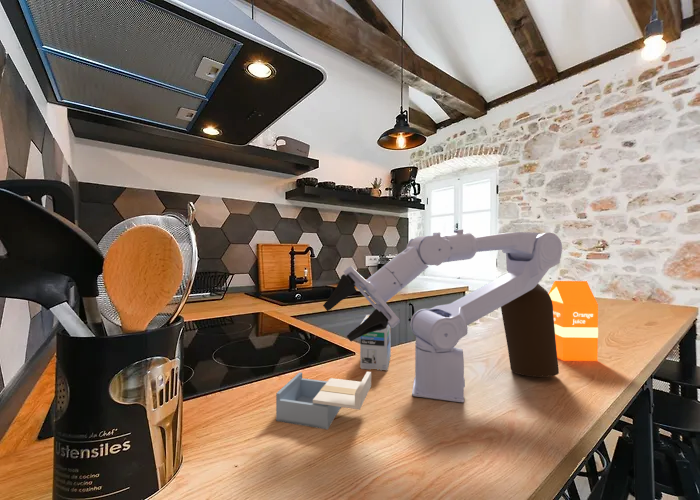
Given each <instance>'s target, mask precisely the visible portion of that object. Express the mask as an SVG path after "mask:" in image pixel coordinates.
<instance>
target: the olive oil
mask: <svg viewBox="0 0 700 500" xmlns="http://www.w3.org/2000/svg"><path fill="white" fill-rule="evenodd" d="M500 311H501V316H502V321H503V327H504V334H505V339H506V346H507V352H508V359H509V364H510V370H511V372H513V373H515V374H517V375H522V376H528V377H537V378H538V377H541V378H542V377H545V378H546V377H554V376H558V375H559V374H560V373H559V371H560V370H559V358H557V349H556V338H555V327H554V314H553V304H552V300H551V297H550V295H549V292H548V291H547V290H546V289H545V288H544V287H542V286H541V285H540V284H539V283H538V284H537V285H536V287H535V288H533V289H532V290H530V291H528V292H527V293H525V294H523V295H521V296H519V297H518V298H516V299H514V300H512V301H511V302H509V303H507V304H505V305H503V306H502V307H500Z"/></svg>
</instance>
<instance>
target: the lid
mask: <svg viewBox="0 0 700 500" xmlns="http://www.w3.org/2000/svg"><path fill="white" fill-rule="evenodd" d="M327 381H328V382H327V383H326V384H325V385H324V386H323V387H322V388H321V390H320V391H319V393H318V394H317V395H316V396H315V398H314V399H313V403H317V404H324V405H331V406H338V407H341V408H343V409H344V408H346V409H351V410H352V409H353V410H358V411H359V410H361V408H362V406H363V404H364V401H365V400H366V398H367V396H368V394H369V392H370V389H371V387H372V371H366V372H365V374H364V376H363V378H362V379H361V381H358V380H357V381H356V380H351V379H349V380H348V379H342V378H333V377H330V378H329V379H328V380H327Z"/></svg>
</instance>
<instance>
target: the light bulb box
mask: <svg viewBox="0 0 700 500" xmlns="http://www.w3.org/2000/svg"><path fill="white" fill-rule="evenodd" d="M370 315H371V314H366V315H365V317H364V318H363V320H362V321H361V322H360V324H359V325H361V324H362V323H363V322H364V321H365V320H366V319H367V318H368V317H369V316H370ZM386 327H387V328H385V329H383V330H378V331H374V332H370V333H368V334H365V335H363V336H360V337H359V338H360V340H359V342H360V349H359V350H360V351H359V354H360V355H359V356H360V357H359V358H360V361H359V362H360V363H359V364H360V365H359V366H360V367H359V368H361V369H362V370H371V369H377V370H376V371H382V370H387V371H388V369H389V366H390V362H391V358H390V357H391V356H392V354H391V353H392V352H391V342H392V341H391V338H392V337H391V336H392V332H391V330H392V328H391V327H390V326H389V325H387V326H386ZM389 361H390V362H389ZM361 369H360V370H361ZM379 369H380V370H379Z"/></svg>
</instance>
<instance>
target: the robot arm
mask: <svg viewBox="0 0 700 500" xmlns="http://www.w3.org/2000/svg"><path fill="white" fill-rule="evenodd" d="M489 251H490V252H491V251H502V253H503V254H505V261H506V264H505V265H506V271H507V273H505V274H503V275H501V276H499V277H497V278H496V279H494V280H491V281H490V282H488V283H486V284H484V285H482V286H480V287H479V288H476V289H475V290H473V291H471V292H469V293H468V294H465V295H464V296H462V297H460V298H458V299H456V300H453V301H452V302H450V303H446V304H445V303H444V304H440V305H439V304H438V305H435V306H433V307H431V308H421V309H418V310H417V311H415V313H413V315H412V316H411V319H410V323H409V324H410V329H411V333H413V335H415V345H414V346H415V352H414V353H415V355H414V356H415V358H414V359H415V362H414V363H415V370H414V371H415V373H414V374H415V377H414V380H413V384H412V385H413V386H412V391H411V396H413V397H418V398H423V399H424V398H426V399H432V400H433V399H434V400H441V401H448V402H456V403H464V402H465V399H464V398H465V394H464V392H465V387H466V382H465V381H466V380H465V375H464V374H465V360H464V349H462V348H461V347H460V348H459V347H458V348H457V347H456V345H458V342H460V340H461V339H462V338H464V337H465V336H467V335H468V326H469V325H471V324H473V323H474V322H475V323H476V321H478V320H480V319H481V318H484V317H485V316H487V315H488V314H490V313H492V312H495V311H496V310H498V309H501V307H502V306H503V305H505V304H507V303H509V302H511V301H512V300H514V299H516V298H518V297H519V296H521V295H523V294H525V293H527V292H528V291H530V290H532V289H533V288H535V287H536V285H537V284H539V283H540V282H541V280H542V279H543V278H544V276H545V275H546V274H547V272H548V271H549V270H550V269H551V268H553V267H555V266H557V265H559V264H560V263H561V258H562V252H563V244H562V241H561V239H560V237H559V236H558V235H557V234H555V233H553V232H544V233H541V232H537V231H535V232H534V231H527V232H526V231H513V232H502V233H495V234H494V233H493V234H487V235H481V236H480V235H479V236H474V235H473V233H471V232H470V231H464V229H462V228H461V229H454V230H453V232H451V233H442V234H441V232H433V233H432V235H421V236H417V237H414V238H411V239H409V241H408V243H407V245H406V248H405V249H403V250H402V251H401V252H400V253H398V254H397V255H395V256H394V257H393V258H392V259H391V260H389V261H388V262H386V263H385V264H384V265H383V266H381V268H379V269H378V270H376V272H374V273H373V274H372V275H370V276H369V277H368V278H366V279H365V278H364V277H363V276H362V275H361V274H360V273H359V272H358V271H357V270H356V269H354V267H353V266H352V265H350V266H348V267H347V268H346V269H344V271H343V274H342V275H341V276H340V279H339V280H338V282H337V285H336V287H335V289H334V290H333V292H332V294H331V295H330V296H329V298H327V300H326V301H325V302H324V303H323V304H322V307H324V309H325V310H326V312H329V311H330V310H332V309H333V308H334V307H336V306H337V305H338V304H339V303H341V302H342V301H343V300H344V299H346V298H348V297H349V296H351V295H353V294H355V293H356V292H357V290H358V291H359V292H360V293H361V294H362V296H363V297H364V298H365V299H366V300H367V301H368V302H369V304H370V305H371V306H372V307H373V308H374V310H373V311H372V313H371V314H369V315H370V316H369V317H368V318H367V319H366V320H365V321H364V322H363V323H362V322H361V323H362V324H361V323H360V324H361V325H360V324H359V325H358V326H357V327H355V328H354V329H353V330H352V331H351V332H348V334H347V335H346V337H347V339H348V340H349V341H350V342H353V341H355V340H357V339H359V338H360V336H363V335H365V334H368V333H370V332H374V331H378V330H383V329H385V328H387V327H386V326H387V325H389V326H390V327H391V329H394V328H395V327H396V326H398V324H400V323H401V321H400V318H399V317H398V316H397V315H396V313H395V312H394V311H393V310H392V309H391V307H390V306H389V305H388V303H387V302H388V301H389V300H391V299H392V298H394V297H395V296H396V295H397V294H398V293H400V292H401V291H402V290H403V289H404V288H405V287H406V286H408V285H409V284H410V283H412V281H414V280H415V279H417V277H419V275H421V274H422V273H423V272H424V271H426V270H427V269H428V268H429V266H440V265H442V264H443V263H449V262H451V263H452V262H458V261H466V260H471V259H472V258H474V256H476V254H477V253H478V252H489Z"/></svg>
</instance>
